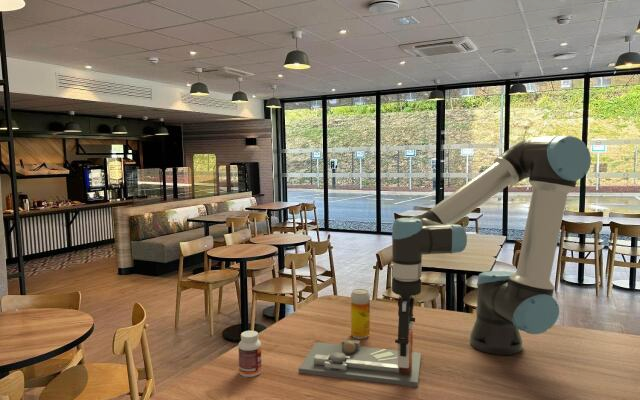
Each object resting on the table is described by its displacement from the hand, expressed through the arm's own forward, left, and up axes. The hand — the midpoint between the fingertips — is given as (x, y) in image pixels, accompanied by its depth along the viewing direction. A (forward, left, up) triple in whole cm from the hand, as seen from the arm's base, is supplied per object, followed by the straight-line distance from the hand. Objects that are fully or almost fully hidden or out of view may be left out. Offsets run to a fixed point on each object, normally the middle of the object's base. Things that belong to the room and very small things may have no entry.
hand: (405, 355), depth 125 cm
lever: (+12, 0, -5) cm, 13 cm away
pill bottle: (+41, +7, -6) cm, 43 cm away
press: (+13, -5, -6) cm, 15 cm away
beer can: (+16, -25, -6) cm, 31 cm away
